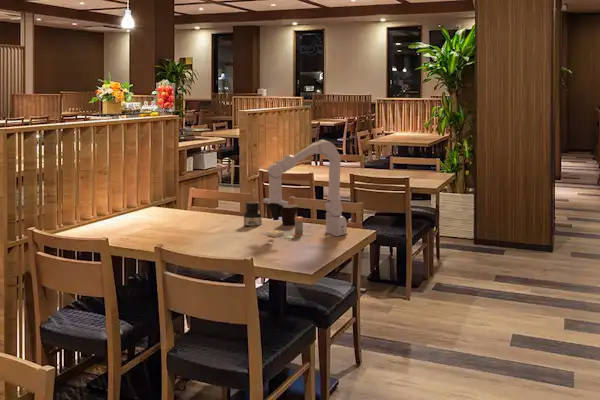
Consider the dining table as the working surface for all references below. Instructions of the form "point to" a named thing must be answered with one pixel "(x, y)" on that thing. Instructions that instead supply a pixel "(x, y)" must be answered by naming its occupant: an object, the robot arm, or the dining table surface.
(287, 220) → the coffee mug
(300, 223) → the marker
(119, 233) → the dining table surface
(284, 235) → the board
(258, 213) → the ink bottle
